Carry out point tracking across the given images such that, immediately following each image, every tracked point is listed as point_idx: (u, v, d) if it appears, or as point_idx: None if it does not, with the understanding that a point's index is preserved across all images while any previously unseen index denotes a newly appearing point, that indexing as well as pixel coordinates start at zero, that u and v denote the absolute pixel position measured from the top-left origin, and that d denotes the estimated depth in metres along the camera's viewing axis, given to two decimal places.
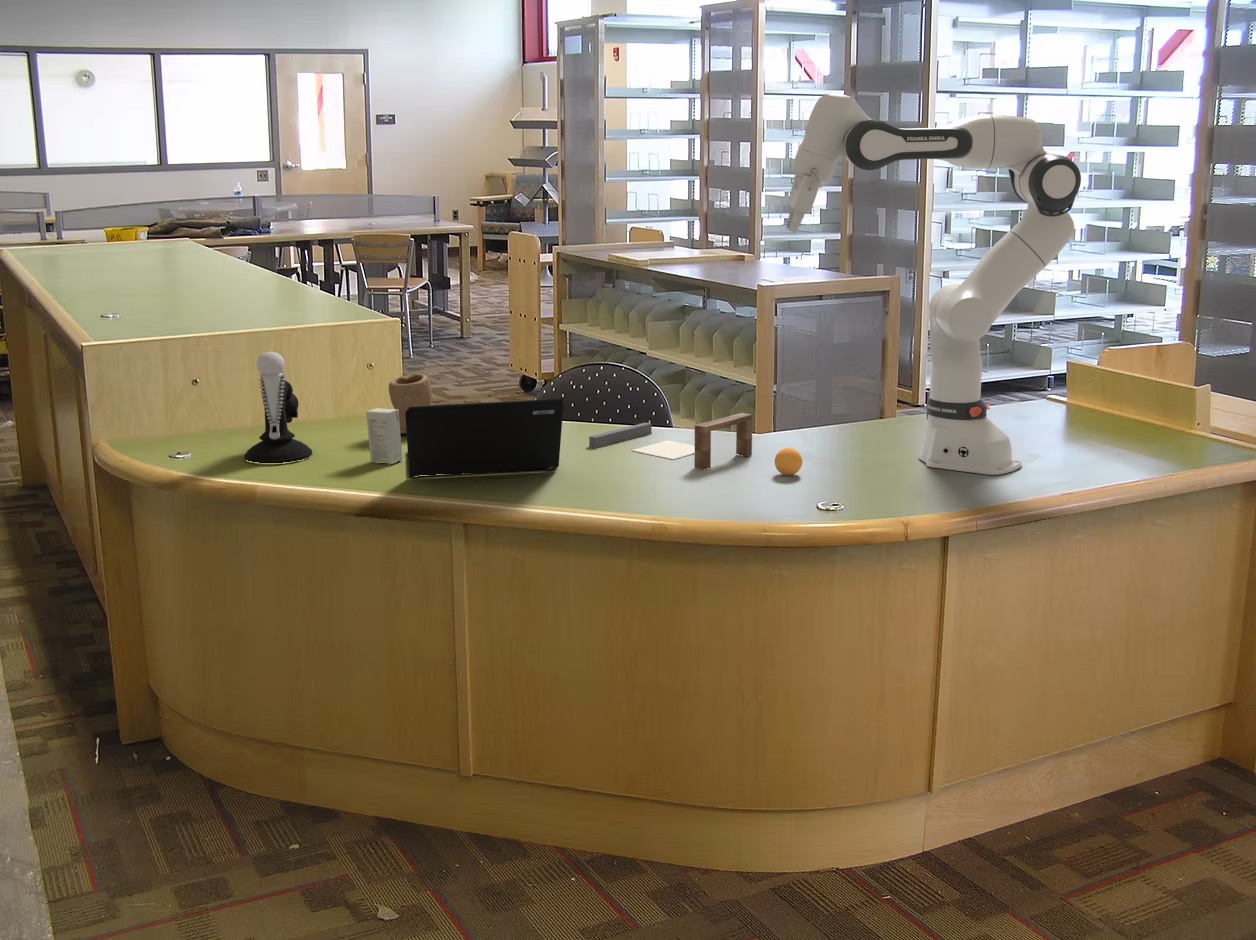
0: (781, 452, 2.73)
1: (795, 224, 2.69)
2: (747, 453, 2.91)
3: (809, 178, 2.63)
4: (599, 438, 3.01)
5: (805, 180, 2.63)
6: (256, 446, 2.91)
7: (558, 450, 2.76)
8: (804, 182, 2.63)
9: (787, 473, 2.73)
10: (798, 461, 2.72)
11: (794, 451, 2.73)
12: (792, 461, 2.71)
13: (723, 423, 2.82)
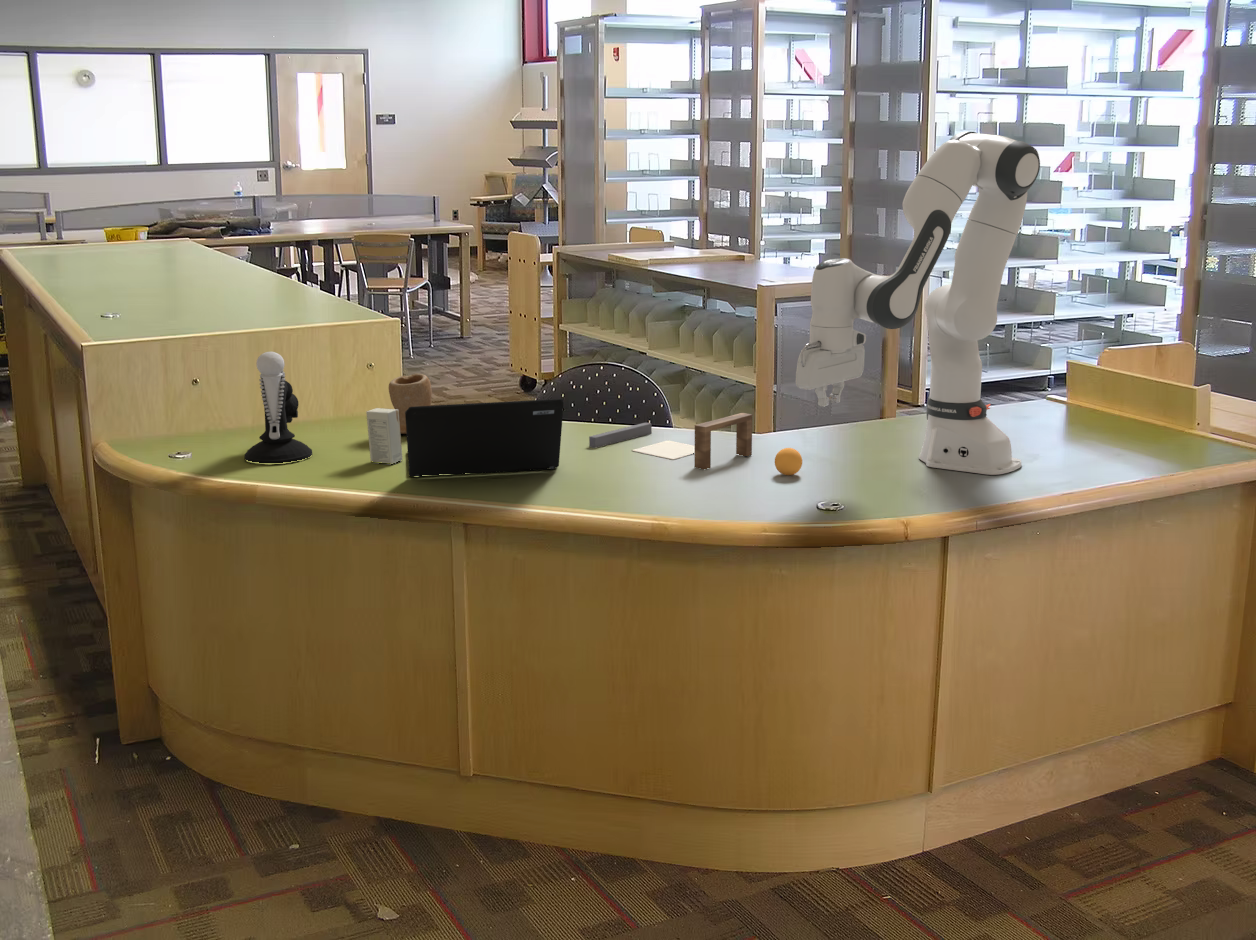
0: (781, 452, 2.73)
1: (821, 398, 2.62)
2: (747, 453, 2.91)
3: None
4: (599, 438, 3.01)
5: (799, 357, 2.56)
6: (256, 446, 2.91)
7: (558, 450, 2.76)
8: (798, 359, 2.56)
9: (787, 473, 2.73)
10: (798, 461, 2.72)
11: (794, 451, 2.73)
12: (792, 461, 2.71)
13: (723, 423, 2.82)
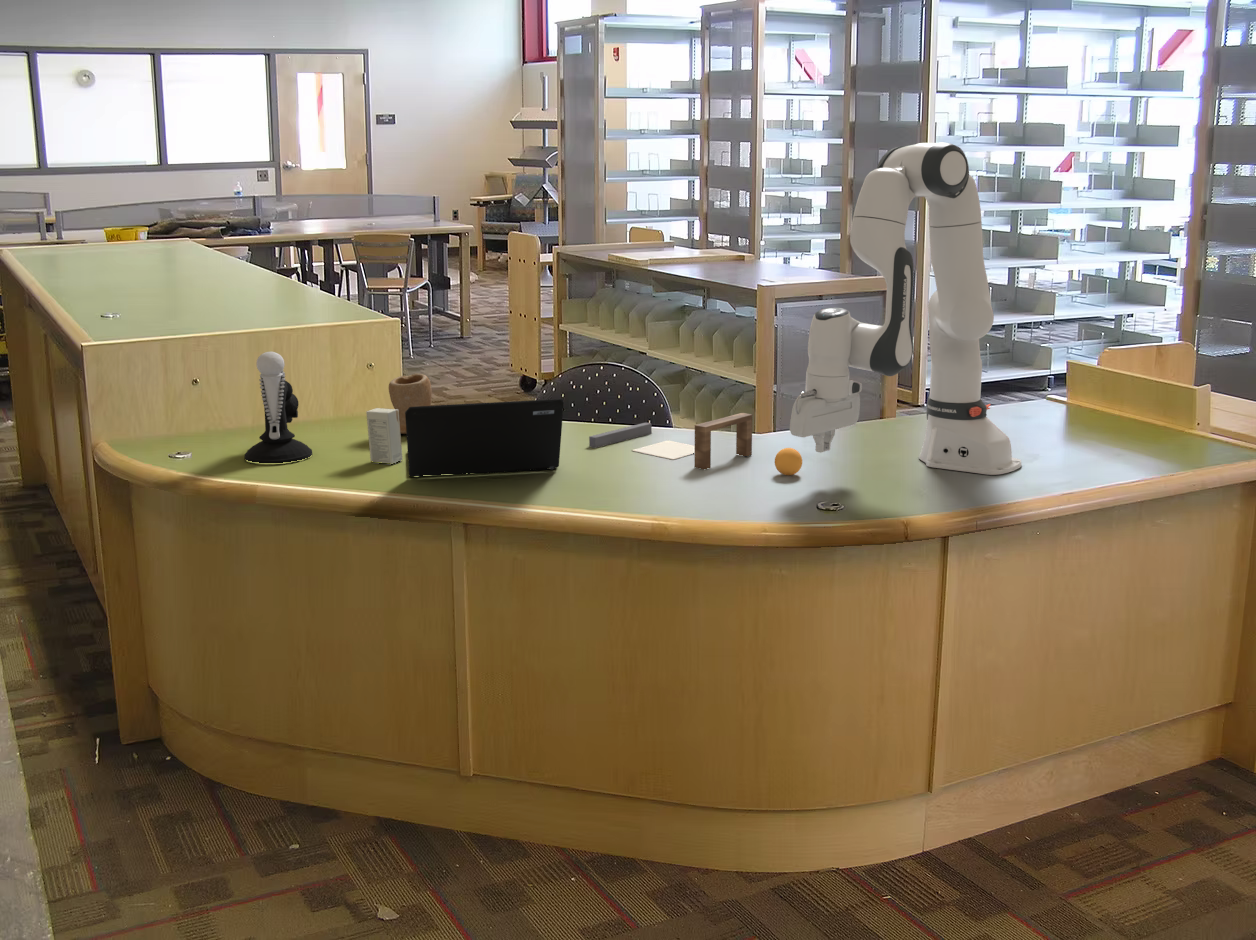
0: (781, 452, 2.73)
1: (819, 444, 2.65)
2: (747, 453, 2.91)
3: None
4: (599, 438, 3.01)
5: (794, 405, 2.59)
6: (256, 446, 2.91)
7: (558, 450, 2.76)
8: (793, 407, 2.59)
9: (787, 473, 2.73)
10: (798, 461, 2.72)
11: (794, 451, 2.73)
12: (792, 461, 2.71)
13: (723, 423, 2.82)
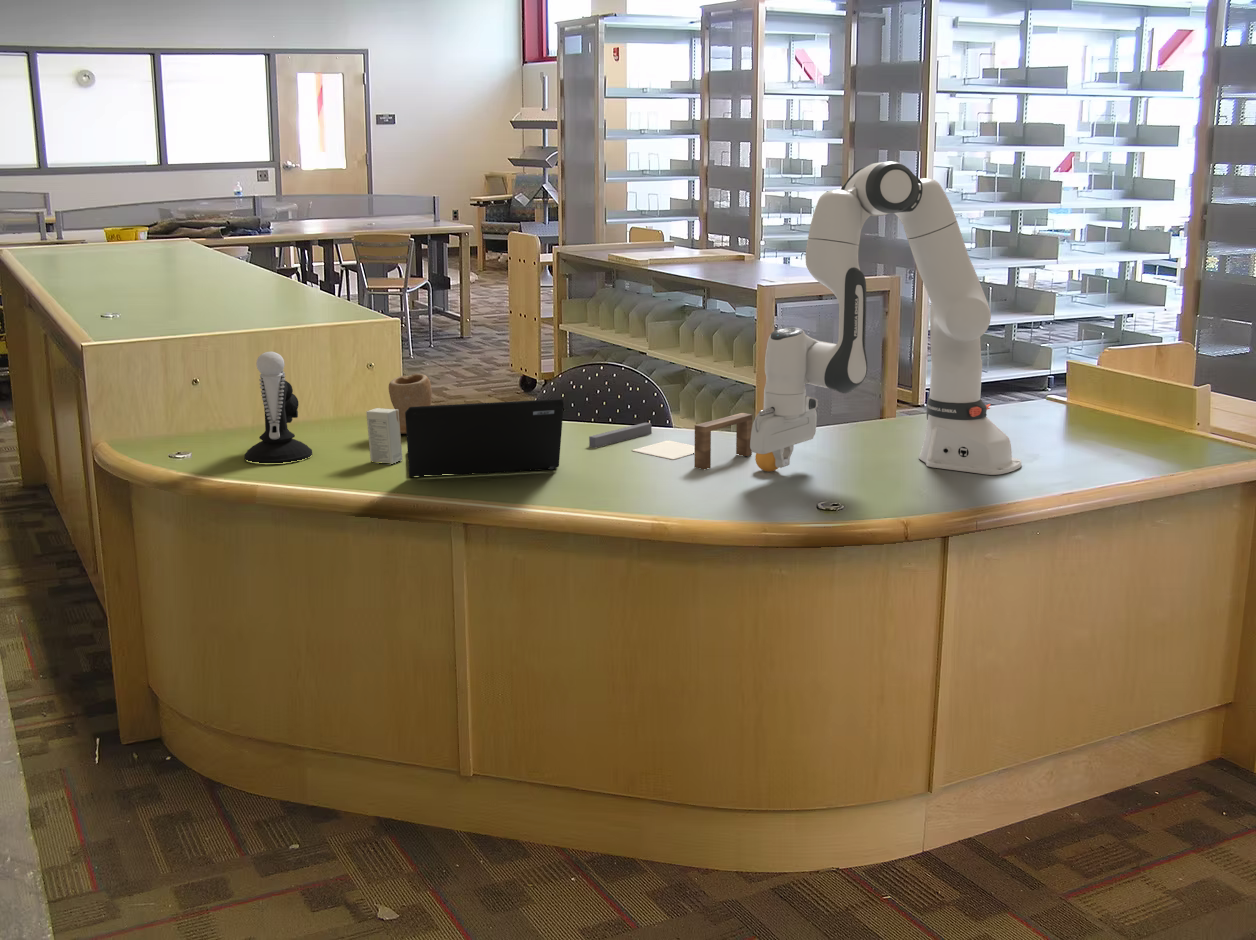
0: (755, 457, 2.78)
1: (778, 460, 2.73)
2: (747, 453, 2.91)
3: None
4: (599, 438, 3.01)
5: (753, 423, 2.66)
6: (256, 446, 2.91)
7: (558, 450, 2.76)
8: (752, 425, 2.66)
9: (773, 460, 2.75)
10: None
11: None
12: None
13: (723, 423, 2.82)
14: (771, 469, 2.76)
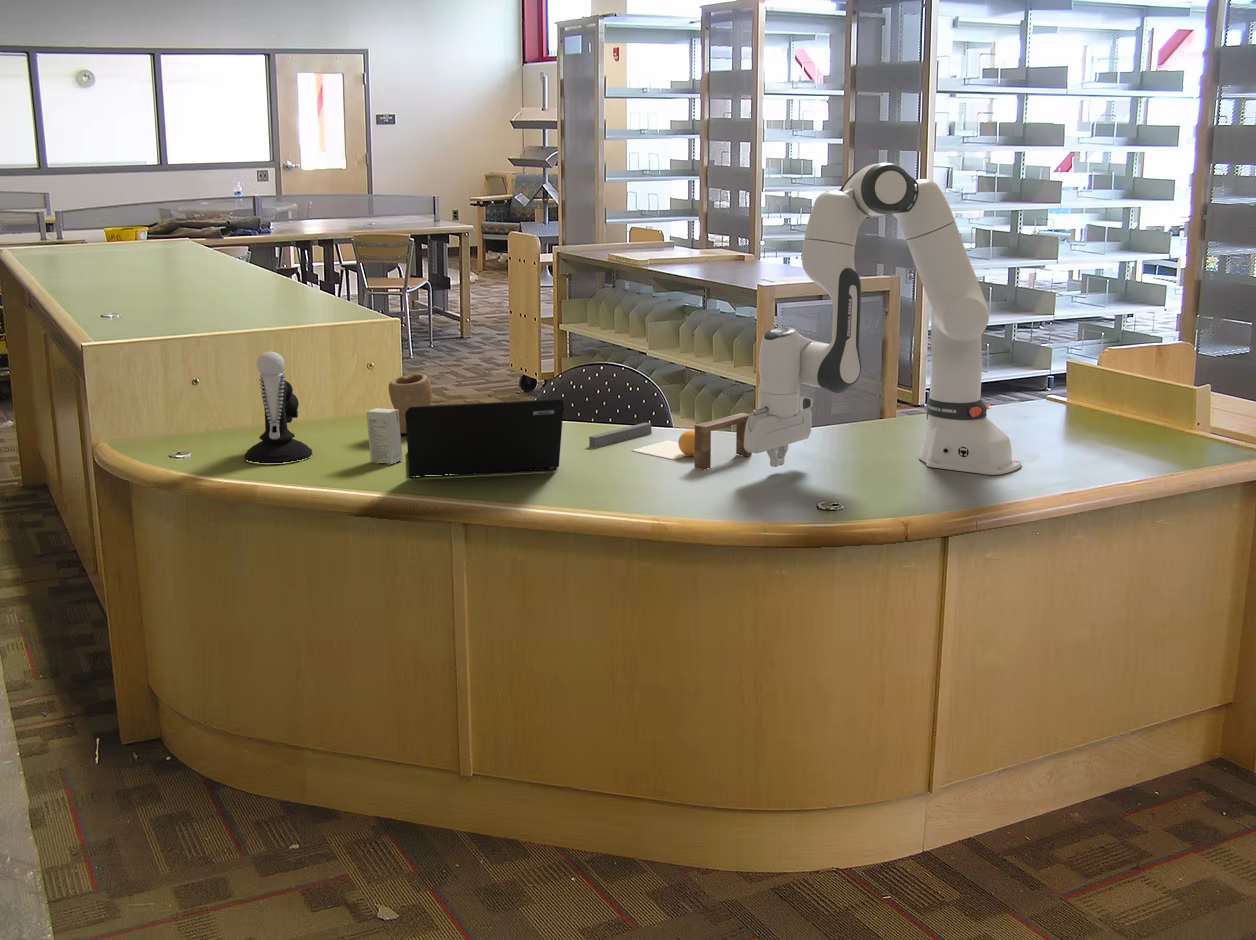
0: (682, 452, 2.92)
1: (773, 459, 2.75)
2: (747, 453, 2.91)
3: None
4: (599, 438, 3.01)
5: (747, 422, 2.68)
6: (256, 446, 2.91)
7: (558, 450, 2.75)
8: (746, 424, 2.68)
9: (690, 436, 2.89)
10: None
11: None
12: None
13: (723, 423, 2.82)
14: None
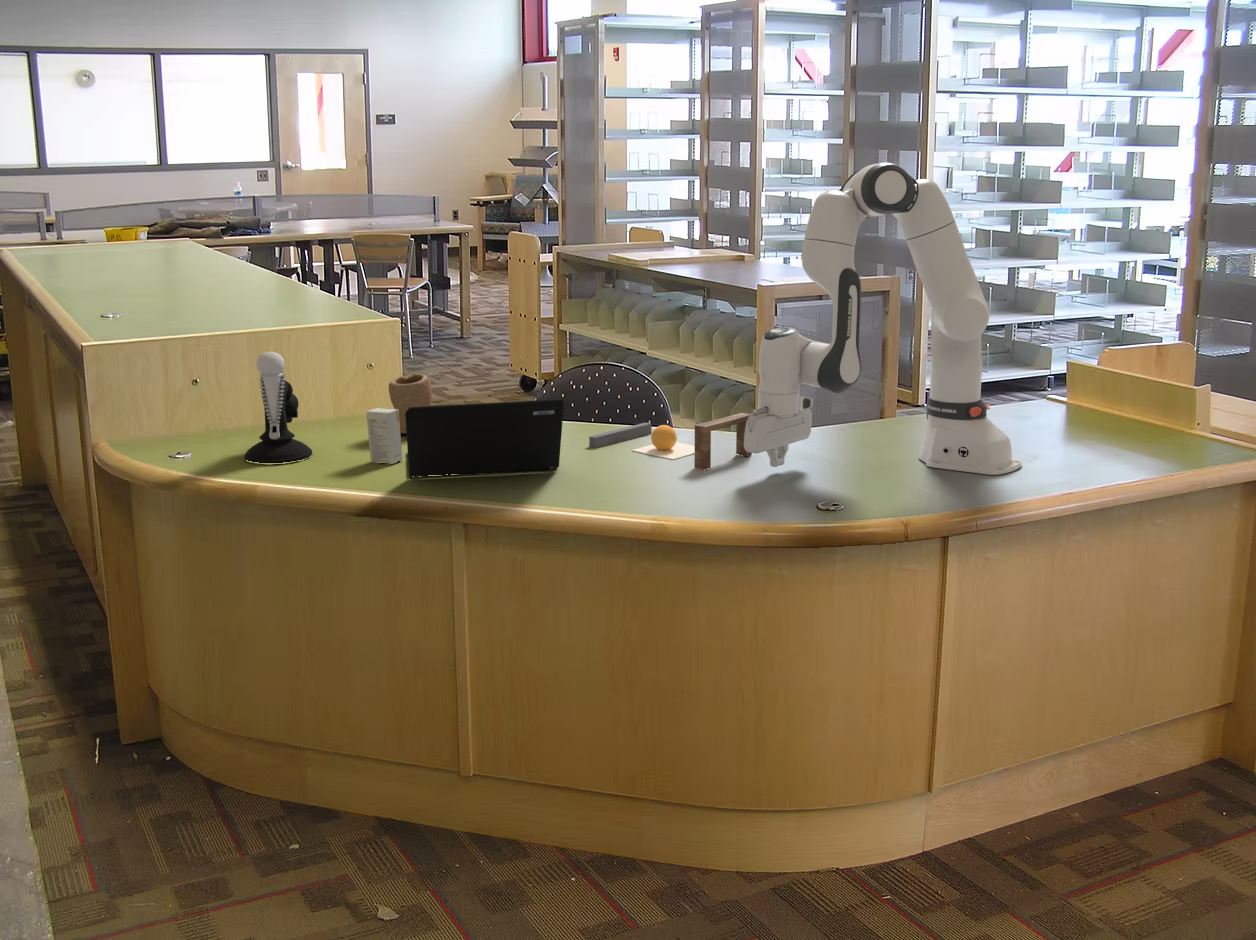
0: (665, 434, 2.94)
1: (773, 459, 2.75)
2: (747, 453, 2.91)
3: None
4: (599, 438, 3.01)
5: (747, 422, 2.68)
6: (256, 446, 2.91)
7: (558, 451, 2.75)
8: (746, 424, 2.68)
9: (653, 444, 2.97)
10: (667, 449, 2.96)
11: (672, 443, 2.95)
12: (663, 448, 2.95)
13: (723, 423, 2.82)
14: None
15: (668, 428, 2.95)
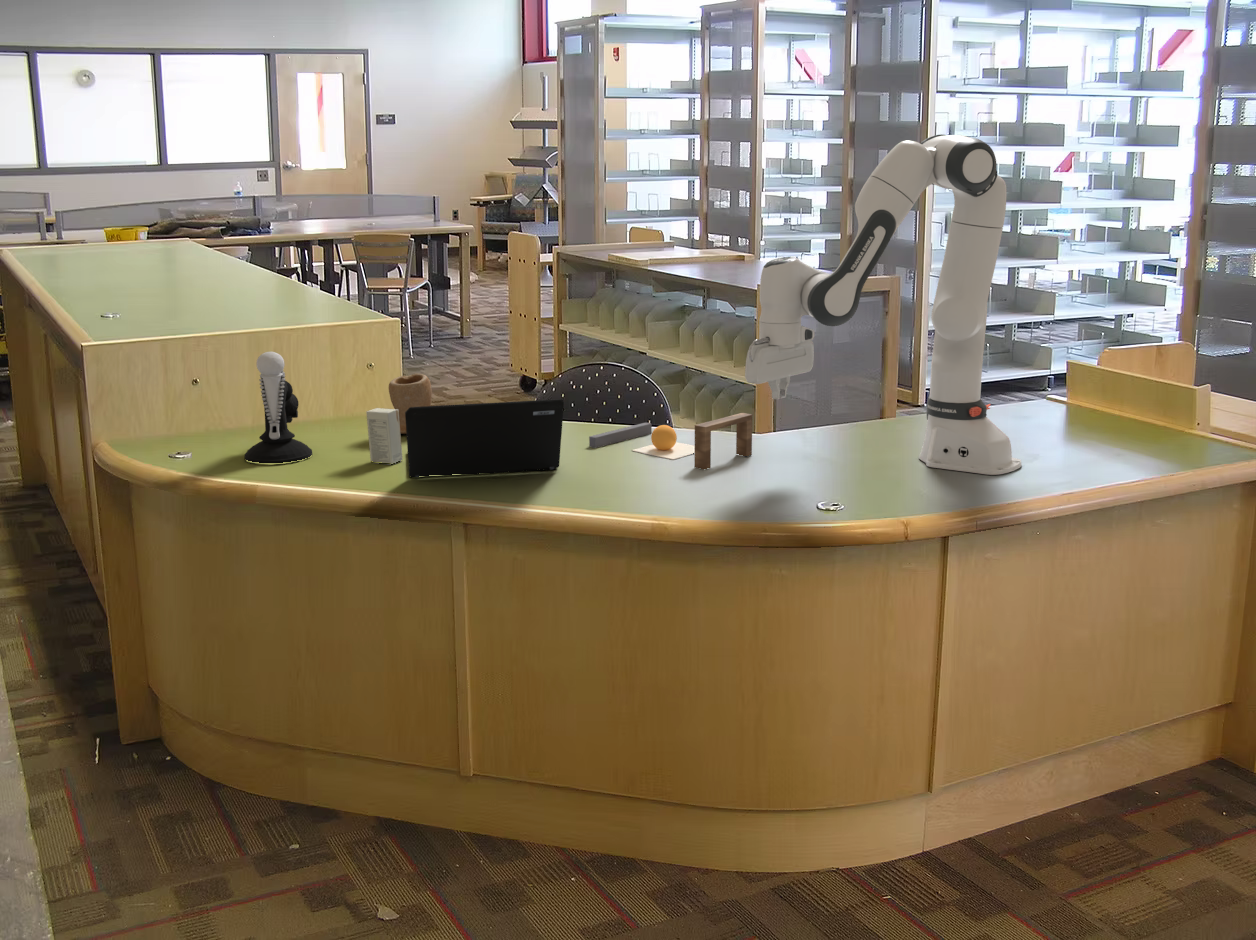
0: (665, 434, 2.94)
1: (775, 391, 2.71)
2: (747, 453, 2.91)
3: None
4: (599, 438, 3.01)
5: (748, 352, 2.64)
6: (256, 446, 2.91)
7: (558, 451, 2.75)
8: (747, 355, 2.65)
9: (653, 444, 2.97)
10: (667, 449, 2.96)
11: (672, 443, 2.95)
12: (663, 448, 2.95)
13: (723, 423, 2.82)
14: None
15: (668, 428, 2.95)
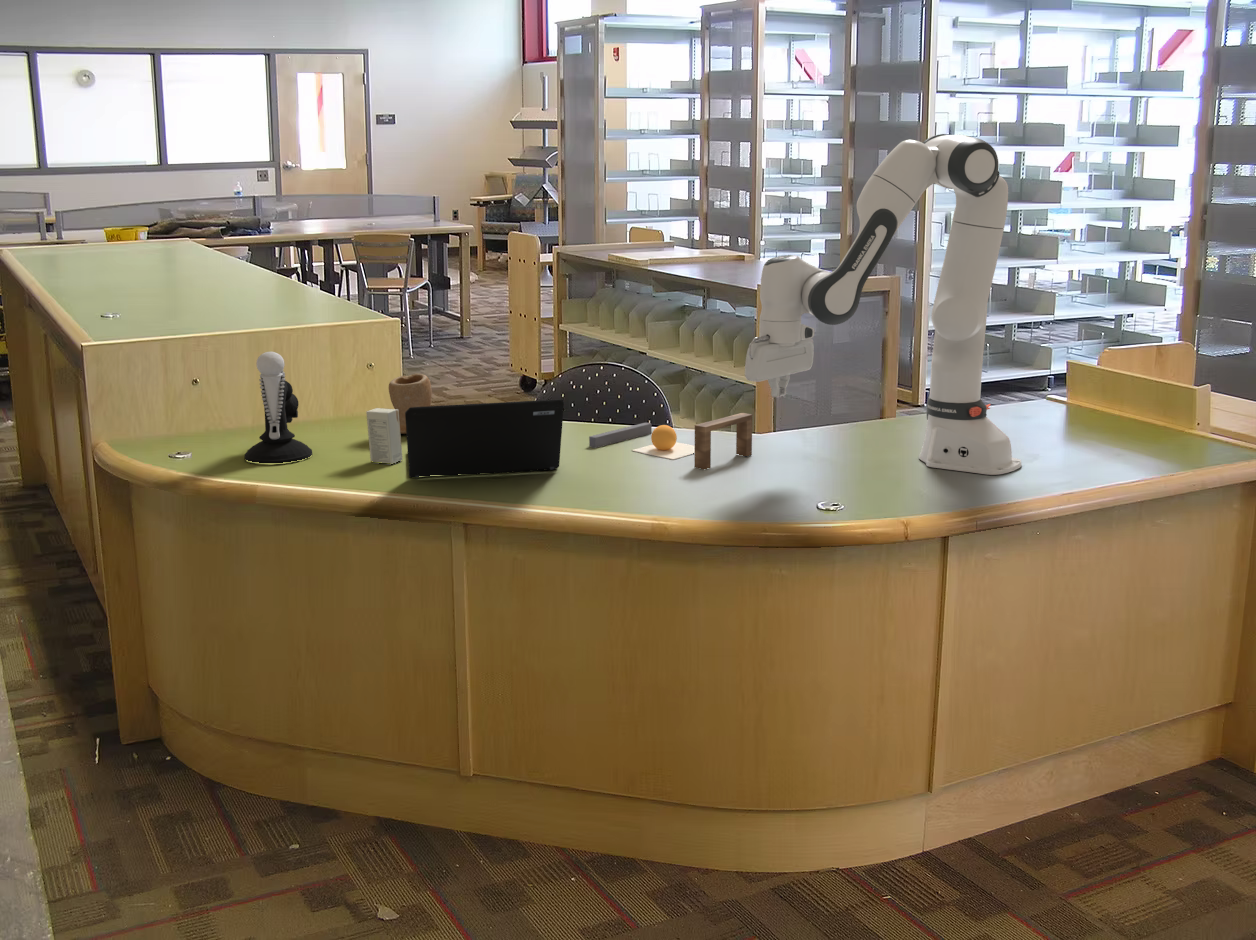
0: (665, 434, 2.94)
1: (774, 389, 2.71)
2: (747, 453, 2.91)
3: None
4: (599, 438, 3.01)
5: (748, 350, 2.64)
6: (256, 446, 2.91)
7: (558, 451, 2.75)
8: (747, 352, 2.64)
9: (653, 444, 2.97)
10: (667, 449, 2.96)
11: (672, 443, 2.95)
12: (663, 448, 2.95)
13: (723, 423, 2.82)
14: None
15: (668, 428, 2.95)
